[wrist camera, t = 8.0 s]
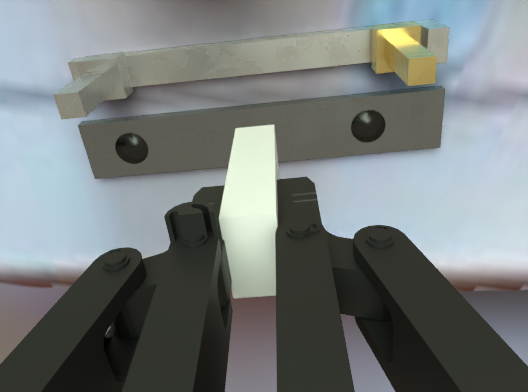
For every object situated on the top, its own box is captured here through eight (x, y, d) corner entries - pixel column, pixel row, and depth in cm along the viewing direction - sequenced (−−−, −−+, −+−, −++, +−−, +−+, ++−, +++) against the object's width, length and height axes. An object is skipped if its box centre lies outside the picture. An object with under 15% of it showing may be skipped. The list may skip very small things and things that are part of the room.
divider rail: (84, 91, 38) (32, 132, 30) (73, 54, 36) (15, 87, 28) (430, 55, 36) (476, 89, 28) (433, 14, 34) (482, 37, 26)
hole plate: (98, 173, 42) (94, 179, 41) (82, 121, 39) (77, 125, 38) (436, 142, 39) (440, 147, 38) (440, 85, 37) (445, 89, 36)
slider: (371, 67, 35) (395, 98, 28) (371, 25, 33) (397, 47, 26) (411, 62, 35) (446, 93, 28) (413, 21, 33) (450, 42, 26)
